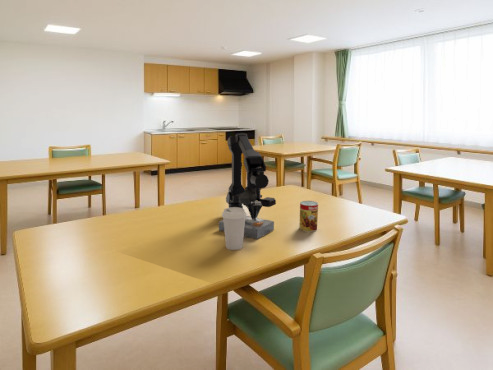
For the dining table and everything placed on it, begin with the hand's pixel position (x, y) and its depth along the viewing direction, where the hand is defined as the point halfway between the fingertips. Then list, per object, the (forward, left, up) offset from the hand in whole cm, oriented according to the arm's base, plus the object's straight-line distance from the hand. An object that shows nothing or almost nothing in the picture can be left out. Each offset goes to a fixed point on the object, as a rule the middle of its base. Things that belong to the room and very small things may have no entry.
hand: (254, 219), depth 160 cm
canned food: (+18, +17, -6) cm, 25 cm away
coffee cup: (+3, -19, -6) cm, 20 cm away
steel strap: (-4, 0, -1) cm, 4 cm away
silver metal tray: (-4, 0, -6) cm, 7 cm away
